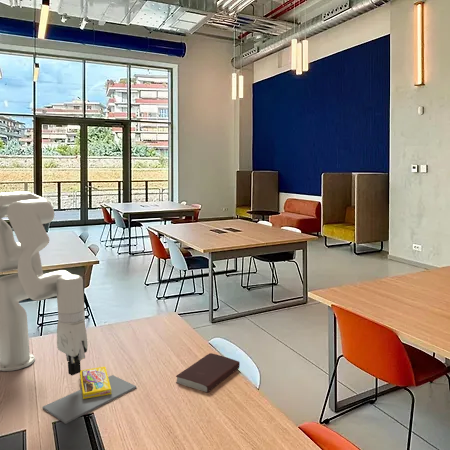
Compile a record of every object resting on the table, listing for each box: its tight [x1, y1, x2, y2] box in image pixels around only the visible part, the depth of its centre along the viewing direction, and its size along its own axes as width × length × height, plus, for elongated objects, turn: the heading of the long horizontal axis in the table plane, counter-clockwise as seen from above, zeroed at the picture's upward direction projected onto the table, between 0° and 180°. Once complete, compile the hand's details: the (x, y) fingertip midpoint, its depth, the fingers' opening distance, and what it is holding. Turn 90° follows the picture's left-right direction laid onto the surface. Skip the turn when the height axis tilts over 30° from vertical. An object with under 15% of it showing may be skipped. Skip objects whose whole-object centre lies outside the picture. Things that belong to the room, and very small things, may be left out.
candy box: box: [79, 366, 112, 399], centre depth 135 cm, size 16×2×8 cm
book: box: [175, 352, 240, 394], centre depth 142 cm, size 13×19×3 cm, turn 148°
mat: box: [42, 374, 137, 424], centre depth 129 cm, size 12×24×1 cm, turn 141°
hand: (74, 373), depth 133 cm, fingers closed
